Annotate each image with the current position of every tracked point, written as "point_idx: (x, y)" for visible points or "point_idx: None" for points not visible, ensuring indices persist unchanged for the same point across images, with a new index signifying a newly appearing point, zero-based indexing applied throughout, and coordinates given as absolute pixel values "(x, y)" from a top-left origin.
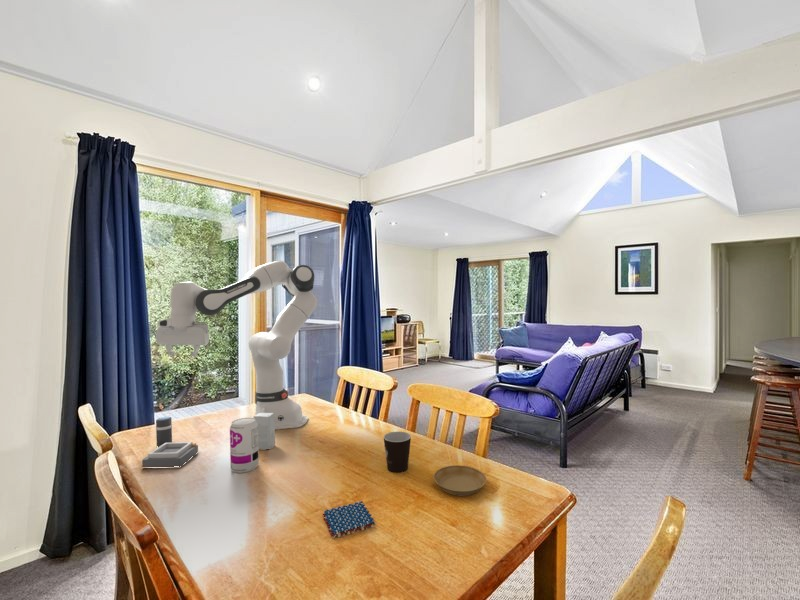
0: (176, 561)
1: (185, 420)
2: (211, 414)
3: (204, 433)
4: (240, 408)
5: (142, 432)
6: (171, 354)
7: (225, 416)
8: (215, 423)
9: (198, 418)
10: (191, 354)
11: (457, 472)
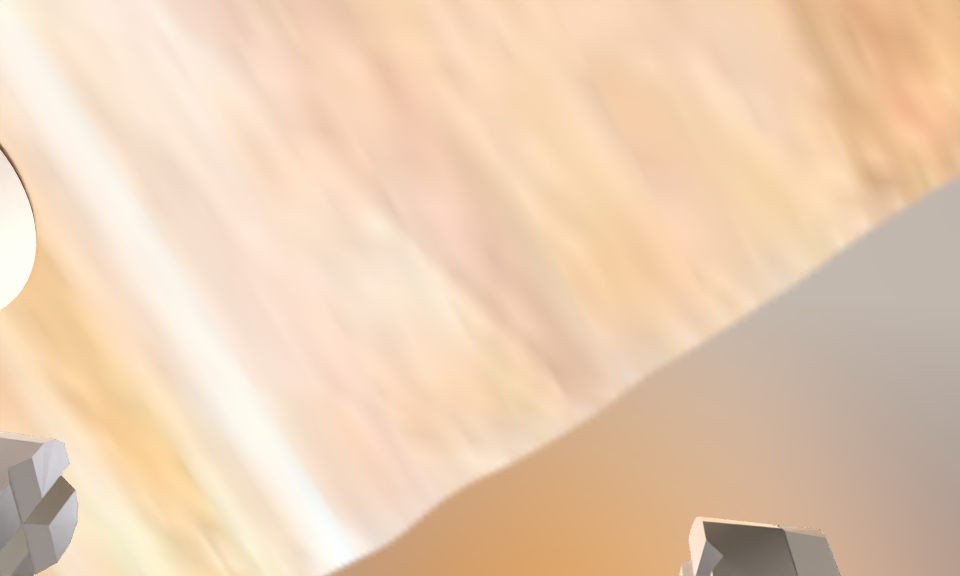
0: None
1: (647, 332)
2: (502, 440)
3: (314, 7)
4: (344, 537)
5: (892, 80)
6: (718, 544)
7: (364, 386)
8: (356, 240)
9: (561, 365)
10: (13, 467)
11: None
